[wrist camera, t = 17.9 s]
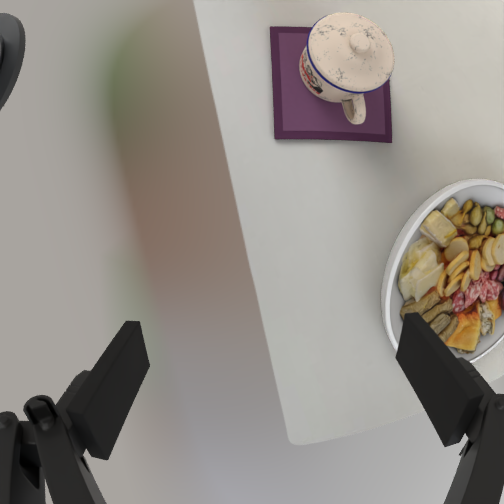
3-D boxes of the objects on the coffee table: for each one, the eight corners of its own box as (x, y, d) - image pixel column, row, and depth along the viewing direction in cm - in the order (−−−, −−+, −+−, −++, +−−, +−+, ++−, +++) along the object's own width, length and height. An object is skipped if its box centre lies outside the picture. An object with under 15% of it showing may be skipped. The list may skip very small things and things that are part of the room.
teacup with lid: (289, 41, 33) (301, 2, 22) (359, 36, 32) (392, 2, 21) (309, 131, 36) (330, 123, 25) (379, 124, 35) (422, 116, 24)
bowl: (375, 374, 47) (389, 406, 40) (362, 190, 39) (385, 199, 31) (509, 327, 45) (532, 347, 38) (520, 168, 36) (552, 174, 29)
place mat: (274, 139, 37) (274, 139, 37) (269, 28, 33) (269, 26, 32) (390, 142, 37) (392, 142, 36) (382, 36, 32) (384, 35, 32)
